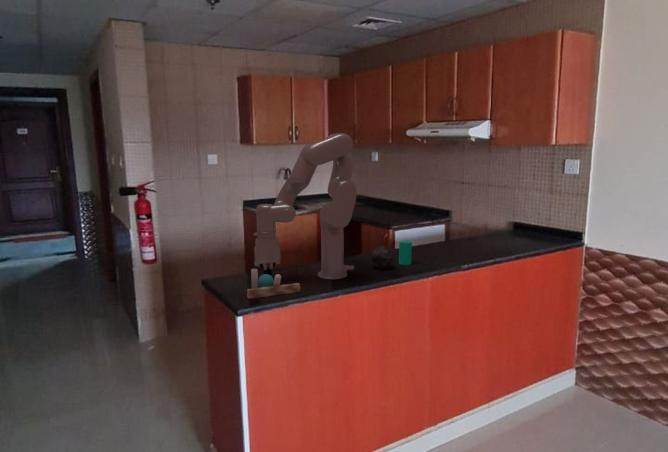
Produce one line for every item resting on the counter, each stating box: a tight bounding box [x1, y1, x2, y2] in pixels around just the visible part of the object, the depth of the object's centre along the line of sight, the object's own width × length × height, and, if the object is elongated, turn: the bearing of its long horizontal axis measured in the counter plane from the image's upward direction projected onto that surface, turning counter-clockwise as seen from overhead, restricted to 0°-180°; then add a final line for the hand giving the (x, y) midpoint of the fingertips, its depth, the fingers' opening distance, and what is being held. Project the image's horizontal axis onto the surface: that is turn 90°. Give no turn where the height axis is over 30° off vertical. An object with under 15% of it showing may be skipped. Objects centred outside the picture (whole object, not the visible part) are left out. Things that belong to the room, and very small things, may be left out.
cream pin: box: [273, 273, 282, 286], centre depth 177 cm, size 2×2×9 cm
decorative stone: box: [371, 245, 394, 269], centre depth 212 cm, size 10×10×10 cm
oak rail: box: [246, 282, 301, 299], centre depth 175 cm, size 20×2×3 cm, turn 113°
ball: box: [258, 273, 274, 288], centre depth 181 cm, size 6×6×6 cm
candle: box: [398, 238, 413, 266], centre depth 220 cm, size 6×6×12 cm
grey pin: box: [250, 268, 259, 289], centre depth 177 cm, size 2×2×9 cm
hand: (267, 278), depth 191 cm, fingers closed
